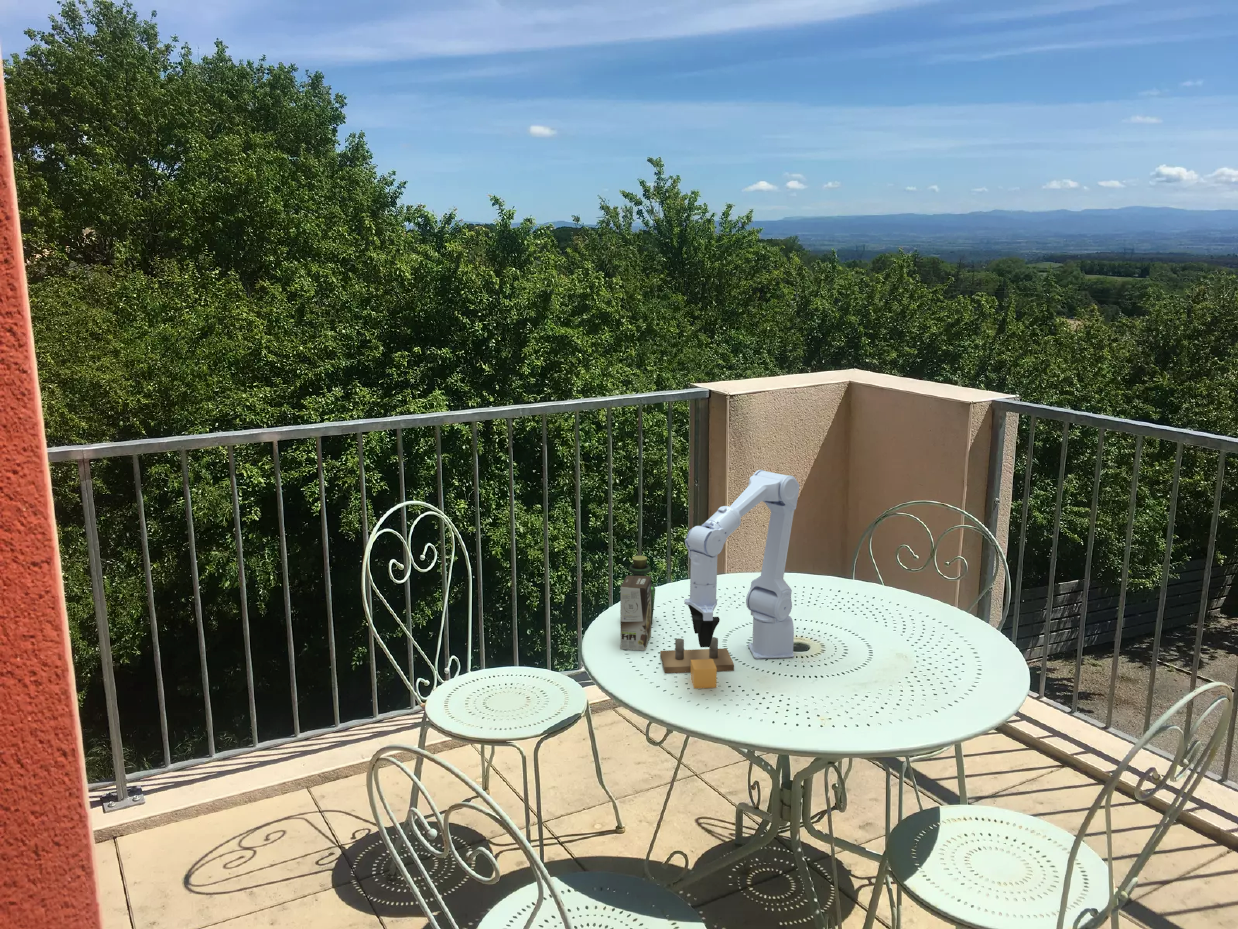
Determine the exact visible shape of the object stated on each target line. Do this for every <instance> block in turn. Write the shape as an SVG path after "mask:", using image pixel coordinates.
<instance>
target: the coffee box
mask: <svg viewBox="0 0 1238 929" xmlns="http://www.w3.org/2000/svg"><path fill="white" fill-rule="evenodd" d="M651 583H652V576H649V575H646V576H633V575H629V574H628V575H626V576H625V578H624V580H623V581H622V584H620V586H619V588H620V599H619V600H620V601H619V602H620V605H619V606H620V611H619V612H620V618H619V619H620V649H621V650H629V651H630V650H631V651H641V652H645V651H646V649H647V647H648V645H649V642H650V641H651V637H652V625H651Z"/></svg>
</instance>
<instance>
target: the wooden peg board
mask: <svg viewBox="0 0 1238 929" xmlns="http://www.w3.org/2000/svg"><path fill="white" fill-rule="evenodd" d="M674 643H675V644H674V646H675V648H674V650H673V649H671V650H660V652H659V653H660V654H659V656H660V661H661V664H662V668H663V671H664V674H680V673H681V674H682V673H691V660H698V659H713V661H714V663H715V666H716V668H717V672H733V671H735V663H734V662H733V659H732V657H731V654H730V652H729V650H728V648H725V647H724V648H719V638H718V637H714V636H713V637H712V641H711V645H710V647H708V648H703V649H702V648H701V649H699V648H698V649H685V639H684V638H676V639H675V640H674Z"/></svg>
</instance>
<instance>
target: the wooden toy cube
mask: <svg viewBox="0 0 1238 929" xmlns="http://www.w3.org/2000/svg"><path fill="white" fill-rule="evenodd" d="M717 672H718V671H717V668H716V666H715V663H714V661H713V659H698V660H691V672H690V681H691V683H692V687H693V689H711V688H712V689H714V688H715V689H717V674H718V673H717Z"/></svg>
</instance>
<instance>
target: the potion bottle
mask: <svg viewBox="0 0 1238 929" xmlns="http://www.w3.org/2000/svg"><path fill="white" fill-rule="evenodd" d="M647 560H648V557H647V556H645V555H635V556H632V564H630V566H629V567H628V573H630V574H632V576H648V574H649V573H651V572H652V569H651V566H650V565H649V564H647ZM655 597H656V587H655V586H654V584H653V583H652V582H651V626H652V624H653V620H654V610H655V609H654V608H655Z"/></svg>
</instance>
